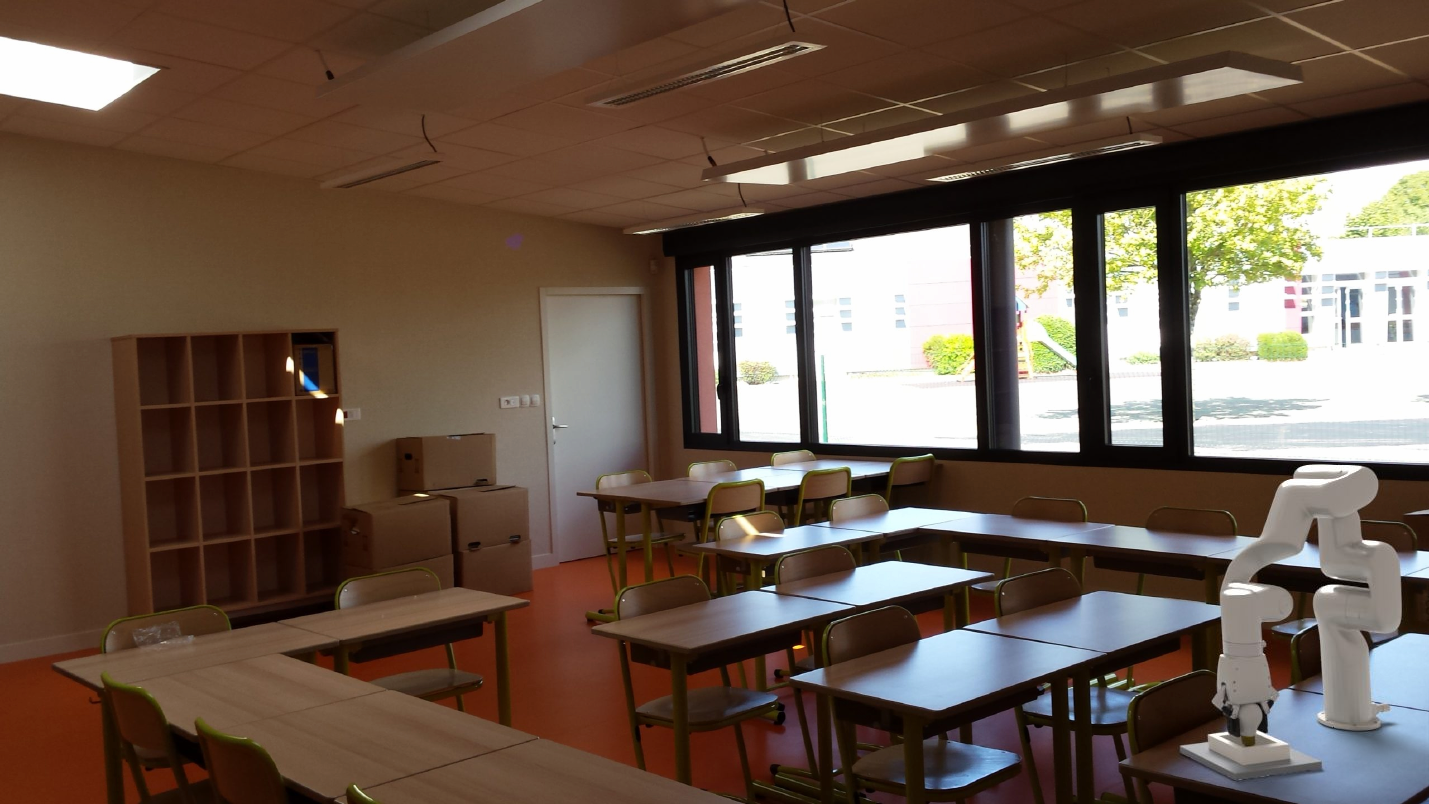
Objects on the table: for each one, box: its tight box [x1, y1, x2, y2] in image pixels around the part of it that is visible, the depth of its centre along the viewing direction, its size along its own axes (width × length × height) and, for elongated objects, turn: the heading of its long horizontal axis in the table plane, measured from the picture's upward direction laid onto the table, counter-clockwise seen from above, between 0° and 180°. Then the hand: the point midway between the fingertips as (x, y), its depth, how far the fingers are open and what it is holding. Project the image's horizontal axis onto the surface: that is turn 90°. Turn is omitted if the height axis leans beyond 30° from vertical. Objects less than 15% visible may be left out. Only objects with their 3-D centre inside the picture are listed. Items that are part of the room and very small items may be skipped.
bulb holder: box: [1179, 730, 1323, 781], centre depth 224 cm, size 20×18×4 cm
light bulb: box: [1231, 703, 1262, 747], centre depth 224 cm, size 6×6×10 cm
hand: (1247, 732), depth 224 cm, fingers closed on light bulb, 5 cm apart
